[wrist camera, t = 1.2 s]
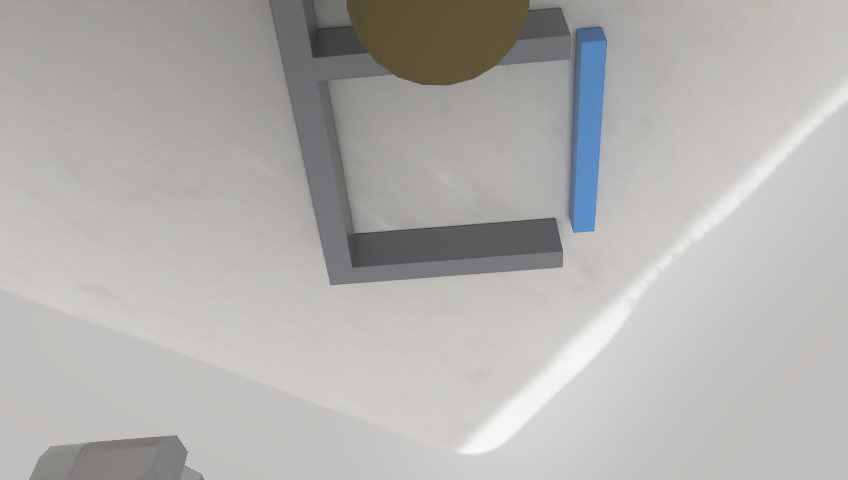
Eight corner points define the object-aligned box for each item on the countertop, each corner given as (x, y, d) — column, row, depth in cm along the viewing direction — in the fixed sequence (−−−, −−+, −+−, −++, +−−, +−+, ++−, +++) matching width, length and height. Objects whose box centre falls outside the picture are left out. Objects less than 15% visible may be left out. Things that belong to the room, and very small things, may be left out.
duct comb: (333, 251, 41) (330, 285, 39) (224, -281, 27) (211, -268, 25) (588, 231, 41) (598, 264, 39) (622, -321, 26) (640, -312, 24)
